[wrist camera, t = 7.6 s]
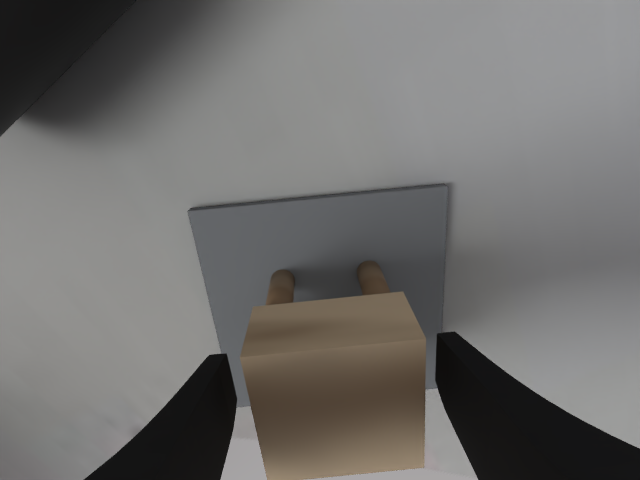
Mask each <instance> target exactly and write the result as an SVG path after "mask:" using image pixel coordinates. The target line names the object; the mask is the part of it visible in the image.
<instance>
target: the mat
mask: <svg viewBox="0 0 640 480" xmlns="http://www.w3.org/2000/svg"><path fill="white" fill-rule="evenodd" d="M447 199H448V186H447V185H445V184H437V185H427V186H416V187H406V188H396V189H385V190H375V191H365V192H354V193H344V194H334V195H323V196H313V197H303V198H292V199H282V200H272V201H261V202H251V203H241V204H230V205H220V206H210V207H199V208H191V209H190V210H188V215H189V219H190V224H191V228H192V232H193V236H194V240H195V244H196V249H197V253H198V257H199V261H200V265H201V270H202V274H203V278H204V282H205V286H206V291H207V295H208V299H209V303H210V307H211V311H212V316H213V320H214V324H215V328H216V332H217V337H218V341H219V345H220V349H221V353H222V354H224V353H227V356H228V361H229V365H230V369H231V373H232V378H233V382H234V386H235V391H236V395H237V406H236V407H244V406H251V405H250V400H249V396H248V392H247V387H246V383H245V378H244V374H243V369H242V365H241V361H240V355H241V351H242V347H243V343H244V339H245V336H246V332H247V328H248V324H249V320H250V316H251V313H252V309H253V307H255V306H265V305H266V300H267V295H268V290H269V285H270V280H271V276H272V274H273V273H274V272H276V271H277V270H288V271H289V272H291V273H292V274H293V276H294V278H295V284H294V298H293V303H294V302H304V301H314V300H324V299H334V298H344V297H353V296H363V294H362V291H361V287H360V283H359V280H358V276H357V268H358V266H359V265H360V264H361V263H363V262H365V261H374V262H376V263H377V264H378V265H379V266H380V268H381V271H382V273H383V275H384V278H385V280H386V283H387V285H388V287H389V290H390V292H391V293H393V292H404V294H405V297H406V299H407V301H408V303H409V305H410V307H411V309H412V311H413V313H414V315H415V317H416V319H417V321H418V323H419V325H420V327H421V329H422V331H423V333H424V335H425V337H426V380H425V389H435V388H437V385H436V382H435V368H436V341H437V333H442V316H443V292H444V269H445V246H446V223H447Z"/></svg>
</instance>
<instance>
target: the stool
mask: <svg viewBox="0 0 640 480" xmlns="http://www.w3.org/2000/svg"><path fill="white" fill-rule="evenodd" d="M357 276H358V280H359V283H360V287H361V291H362V294H363V296H353V297H344V298H334V299H324V300H314V301H304V302H294V303H293V298H294V284H295V278H294V276H293V274H292V273H291V272H289V271H288V270H277V271H276V272H274V273H273V274H272V276H271V280H270V285H269V290H268V295H267V300H266V305H265V306H255V307H253V309H252V313H251V316H250V320H249V324H248V328H247V332H246V336H245V339H244V343H243V347H242V351H241V355H240V361H241V365H242V369H243V374H244V378H245V383H246V387H247V392H248V396H249V400H250V405H251V409H252V414H253V418H254V423H255V427H256V432H257V436H258V440H259V445H260V449H261V454H262V458H263V462H264V467H265V471H266V476H267V480H303V479H314V478H324V477H333V476H343V475H354V474H364V473H375V472H385V471H395V470H405V469H415V468H424V447H425V380H426V337H425V335H424V333H423V331H422V329H421V327H420V325H419V323H418V321H417V319H416V317H415V315H414V313H413V311H412V309H411V307H410V305H409V303H408V301H407V299H406V297H405V294H404V292H393V293H391V292H390V290H389V287H388V285H387V283H386V280H385V278H384V275H383V273H382V271H381V268H380V266H379V265H378V264H377V263H376V262H374V261H365V262H363V263H361V264H360V265H359V266H358V268H357Z"/></svg>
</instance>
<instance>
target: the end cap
mask: <svg viewBox="0 0 640 480" xmlns="http://www.w3.org/2000/svg"><path fill="white" fill-rule="evenodd" d="M135 1H136V0H0V136H1V135H2V134H3V133H4V132H5V131H6V130H7V129H8V128H9V127H10V126H11V125H12V124H13V123H14V122H15V121H16V120H17V119H18V118H19V117H20V116H21V115H22V114H23V113H24V112H25V111H26V110H27V109H28V108H29V107H30V106H31V105H32V104H33V103H34V102H35V101H36V100H37V99H38V98H39V97H40V96H41V95H42V94H43V93H44V92H45V91H46V90H47V89H48V88H49V87H50V86H51V85H52V84H53V83H54V82H55V81H56V80H57V79H58V78H59V77H60V76H61V75H62V74H63V73H64V72H65V71H66V70H67V69H68V68H69V67H70V66H71V65H72V64H73V63H74V62H75V61H76V60H77V59H78V58H79V57H80V56H81V55H82V54H83V53H84V52H85V51H86V50H87V49H88V48H89V47H90V46H91V45H92V44H93V43H94V42H95V41H96V40H97V39H98V38H99V37H100V36H101V35H102V34H103V33H104V32H105V31H106V30H107V29H108V28H109V27H110V26H111V25H112V24H113V23H114V22H115V21H116V20H117V19H118V18H119V17H120V16H121V15H122V14H123V13H124V12H125V11H126V10H127V9H128V8H129V7H130V6H131V5H132V4H133V3H134V2H135Z"/></svg>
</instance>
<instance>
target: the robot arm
mask: <svg viewBox="0 0 640 480" xmlns="http://www.w3.org/2000/svg"><path fill="white" fill-rule="evenodd" d="M435 382H436V385H437V388H438V391H439V394H440V397H441V400H442V403H443V405H444V408H445V411H446V413H447V415H448V417H449V419H450V421H451V423H452V425H453V428H454V430H455V432H456V434H457V436H458V438H459V440H460V442H461V444H462V446H463V448H464V451H465V453H466V455H467V457H468V459H469V461H470V463H471V465H472V467H473V469H474V471H475V473H476V475H477V478H478V480H640V449H639V448H637V447H635V446H632V445H630V444H628V443H626V442H624V441H622V440H620V439H618V438H616V437H613V436H611V435H609V434H607V433H605V432H604V431H602V430H600V429H598V428H596V427H594V426H592V425H590V424H588V423H586V422H584V421H582V420H580V419H579V418H577V417H575V416H573V415H571V414H570V413H568V412H566V411H565V410H563V409H561V408H560V407H558V406H556V405H555V404H553V403H551V402H549V401H548V400H546V399H545V398H543V397H541V396H540V395H538V394H537V393H535V392H534V391H532V390H531V389H529V388H528V387H526V386H525V385H523V384H522V383H521V382H519V381H518V380H516V379H515V378H513V377H512V376H511V375H509V374H508V373H506V372H505V371H504V370H502V369H501V368H500V367H498V366H497V365H496V364H495V363H493V362H492V361H491V360H489V359H488V358H487V357H486V356H484V355H483V354H482V353H481V352H479V351H478V350H477V349H476V348H474V347H473V346H472V345H471V344H469V343H468V342H467V341H466V340H464V339H463V338H462V337H461V336H460V335H458V334H457V333H456V332H446V333H437V341H436V368H435ZM236 406H237V395H236V391H235V386H234V382H233V378H232V373H231V369H230V365H229V361H228V356H227V353H224V354H214V355H209V356H208V357H207V358H206V359H205V360H204V361H203V363H202V364H201V365H200V366H199V367H198V368H197V370H196V371H195V372H194V373H193V374H192V376H191V377H190V378H189V379H188V380H187V382H186V383H185V384H184V385H183V386H182V387H181V389H180V390H179V391H178V392H177V393H176V394H175V395H174V396H173V398H172V399H171V400H170V401H169V402H168V403H167V404H166V405H165V406H164V408H163V409H162V410H161V411H160V412H159V413H158V414H157V415H156V416H155V417H154V418H153V419H152V420H151V421H150V422H149V423H148V424H147V425H146V426H145V427H144V428H143V429H142V430H141V431H140V432H139V433H138V434H137V435H136V436H135V437H134V438H133V439H132V440H131V441H129V442H128V443H127V444H126V445H125V446H124V447H123V448H122V449H121V450H119V451H118V452H117V453H116V454H115V455H114V456H113V457H111V458H110V459H109V460H108V461H106V462H105V463H104V464H103V465H102V466H100V467H99V468H98V469H97V470H95V471H94V472H93V473H92V474H90V475H89V476H88V477H87V478H85V479H84V480H220V479H221V475H222V471H223V467H224V463H225V460H226V456H227V452H228V448H229V444H230V440H231V436H232V432H233V428H234V421H235V414H236Z"/></svg>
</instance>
